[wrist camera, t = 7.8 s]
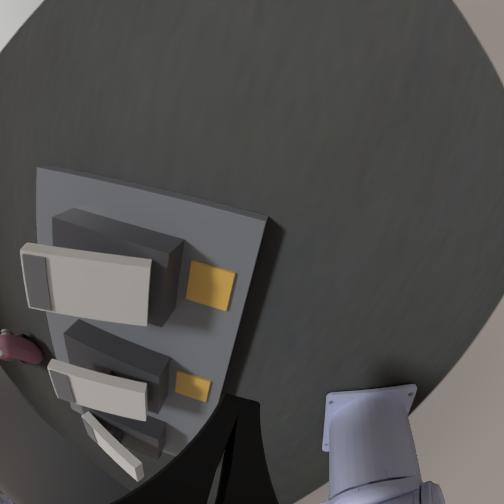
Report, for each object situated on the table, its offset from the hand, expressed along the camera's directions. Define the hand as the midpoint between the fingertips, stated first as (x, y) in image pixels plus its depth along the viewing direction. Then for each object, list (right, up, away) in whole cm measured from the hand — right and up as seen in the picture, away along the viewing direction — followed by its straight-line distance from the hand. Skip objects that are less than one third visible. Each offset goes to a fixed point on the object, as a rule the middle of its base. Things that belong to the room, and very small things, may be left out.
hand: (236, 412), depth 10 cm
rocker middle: (-11, -5, +9) cm, 15 cm away
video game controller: (-29, -5, +19) cm, 35 cm away
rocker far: (-14, -14, +13) cm, 23 cm away
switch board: (-10, -3, +14) cm, 18 cm away
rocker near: (-9, +4, +5) cm, 11 cm away
